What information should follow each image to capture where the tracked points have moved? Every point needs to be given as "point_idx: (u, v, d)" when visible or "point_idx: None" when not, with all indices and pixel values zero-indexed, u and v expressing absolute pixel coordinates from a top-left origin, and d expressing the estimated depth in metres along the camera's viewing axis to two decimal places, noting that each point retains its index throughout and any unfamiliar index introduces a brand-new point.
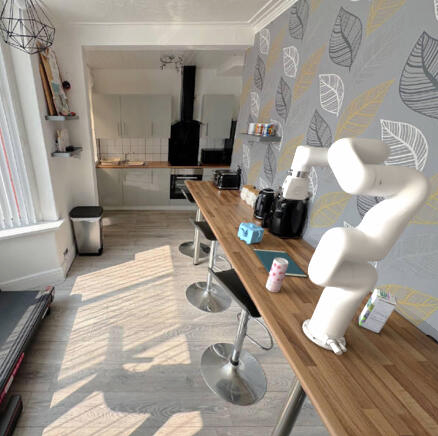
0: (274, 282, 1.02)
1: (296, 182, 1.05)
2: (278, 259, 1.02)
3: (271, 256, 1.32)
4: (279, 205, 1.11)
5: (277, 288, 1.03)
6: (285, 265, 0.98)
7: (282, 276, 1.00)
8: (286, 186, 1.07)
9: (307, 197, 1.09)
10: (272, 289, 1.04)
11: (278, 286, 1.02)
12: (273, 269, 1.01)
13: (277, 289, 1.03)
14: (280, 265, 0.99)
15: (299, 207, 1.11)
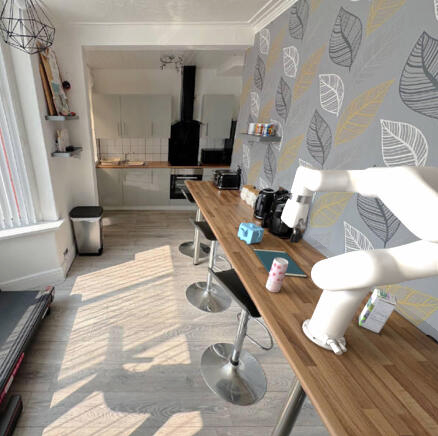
0: (274, 282, 1.02)
1: (288, 203, 0.95)
2: (278, 259, 1.02)
3: (271, 256, 1.32)
4: None
5: (277, 288, 1.03)
6: (285, 265, 0.98)
7: (282, 276, 1.00)
8: None
9: (299, 229, 0.90)
10: (272, 289, 1.04)
11: (278, 286, 1.02)
12: (273, 269, 1.01)
13: (277, 289, 1.03)
14: (280, 265, 0.99)
15: None
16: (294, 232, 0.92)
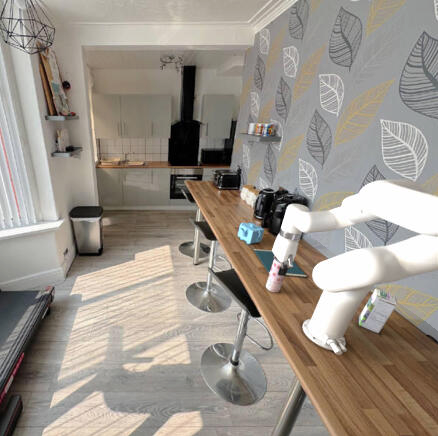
0: (274, 282, 1.02)
1: (279, 238, 0.98)
2: None
3: (271, 256, 1.32)
4: None
5: (277, 288, 1.03)
6: None
7: (282, 276, 1.00)
8: None
9: None
10: (272, 289, 1.04)
11: (278, 286, 1.02)
12: (273, 269, 1.01)
13: (277, 289, 1.03)
14: (280, 264, 0.99)
15: None
16: (282, 266, 0.97)
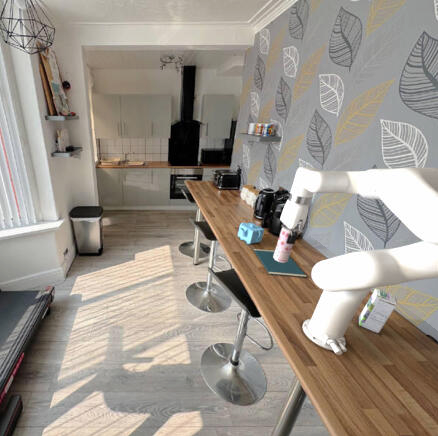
0: (282, 251, 0.98)
1: (288, 204, 0.94)
2: (286, 227, 0.98)
3: (271, 256, 1.32)
4: None
5: (285, 258, 0.99)
6: None
7: (291, 245, 0.97)
8: None
9: (296, 231, 0.92)
10: (280, 259, 1.00)
11: (286, 256, 0.99)
12: (281, 238, 0.98)
13: (286, 258, 0.99)
14: (288, 232, 0.95)
15: None
16: (291, 233, 0.93)
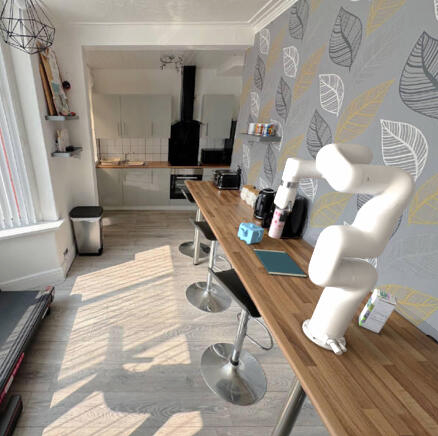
0: (275, 228, 1.19)
1: (280, 189, 1.15)
2: (279, 208, 1.18)
3: (271, 256, 1.32)
4: None
5: (278, 234, 1.19)
6: None
7: (282, 222, 1.17)
8: None
9: None
10: (274, 235, 1.20)
11: (279, 232, 1.19)
12: (275, 217, 1.18)
13: (278, 234, 1.19)
14: (280, 212, 1.15)
15: None
16: (282, 213, 1.14)
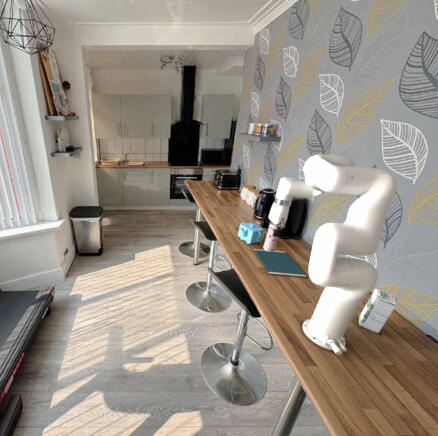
0: (270, 242, 1.25)
1: (274, 206, 1.22)
2: (273, 224, 1.25)
3: (271, 256, 1.32)
4: None
5: (272, 248, 1.26)
6: None
7: (276, 237, 1.24)
8: None
9: (279, 226, 1.19)
10: (268, 249, 1.27)
11: (273, 246, 1.26)
12: (269, 232, 1.25)
13: (273, 248, 1.26)
14: (274, 227, 1.22)
15: None
16: (276, 228, 1.21)
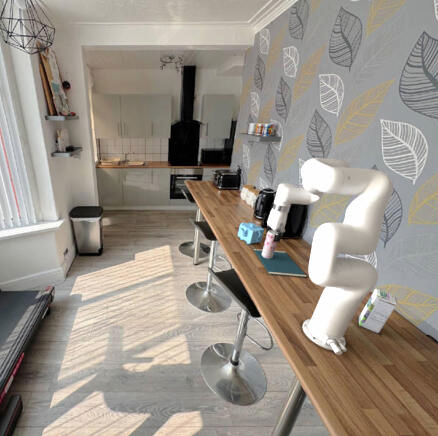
0: (268, 249, 1.27)
1: (272, 211, 1.23)
2: (271, 231, 1.26)
3: None
4: None
5: (270, 255, 1.28)
6: None
7: (274, 244, 1.25)
8: None
9: (280, 231, 1.18)
10: (266, 256, 1.29)
11: (271, 253, 1.27)
12: (267, 239, 1.26)
13: (271, 255, 1.28)
14: (272, 235, 1.24)
15: None
16: (276, 233, 1.20)
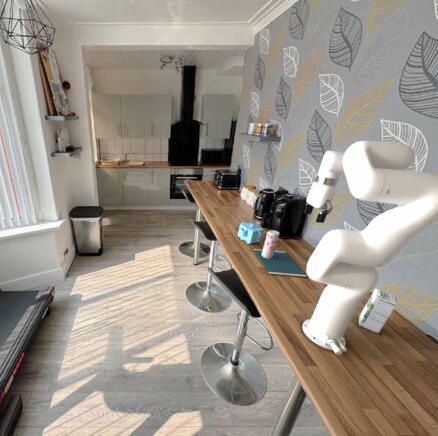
0: (268, 249, 1.27)
1: (314, 186, 1.02)
2: (271, 231, 1.26)
3: None
4: None
5: (270, 255, 1.28)
6: (276, 235, 1.23)
7: (274, 244, 1.25)
8: None
9: (326, 209, 0.98)
10: (266, 256, 1.29)
11: (271, 253, 1.27)
12: (267, 239, 1.26)
13: (271, 255, 1.28)
14: (272, 235, 1.24)
15: None
16: (320, 212, 0.99)
